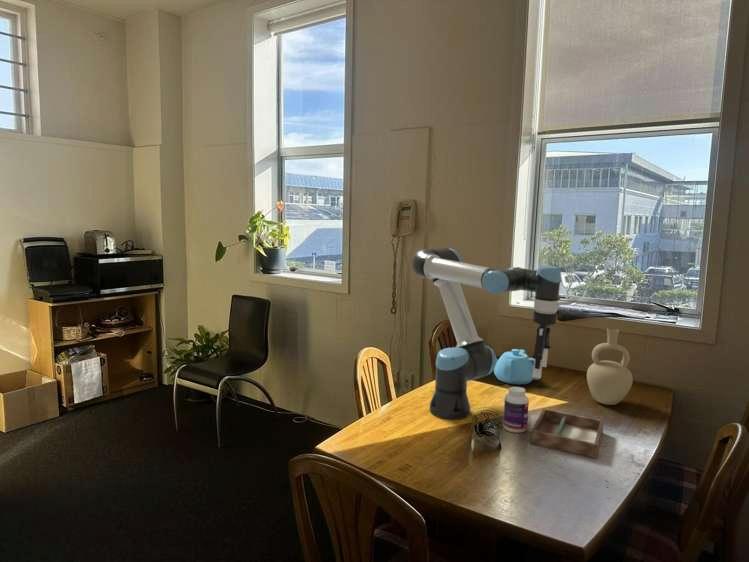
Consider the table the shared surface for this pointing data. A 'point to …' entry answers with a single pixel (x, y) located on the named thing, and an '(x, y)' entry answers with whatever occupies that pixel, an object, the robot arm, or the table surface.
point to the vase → (609, 373)
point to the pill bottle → (516, 410)
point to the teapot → (514, 368)
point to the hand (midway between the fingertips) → (539, 371)
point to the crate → (568, 433)
